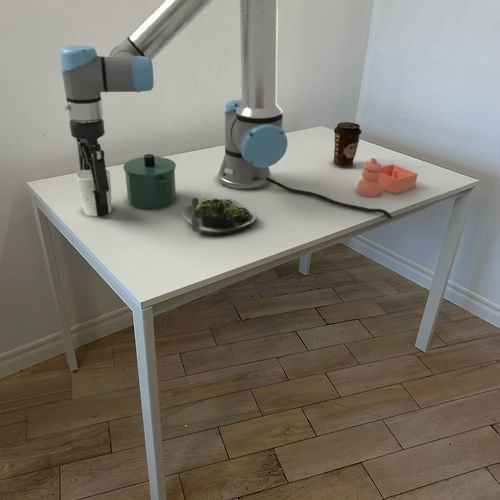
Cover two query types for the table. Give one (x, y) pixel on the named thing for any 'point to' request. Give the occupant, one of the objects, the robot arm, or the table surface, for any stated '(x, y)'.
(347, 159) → the coffee cup
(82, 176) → the white cup
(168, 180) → the pot
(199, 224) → the salad plate
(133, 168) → the pot lid
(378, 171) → the pottery
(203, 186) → the table surface
